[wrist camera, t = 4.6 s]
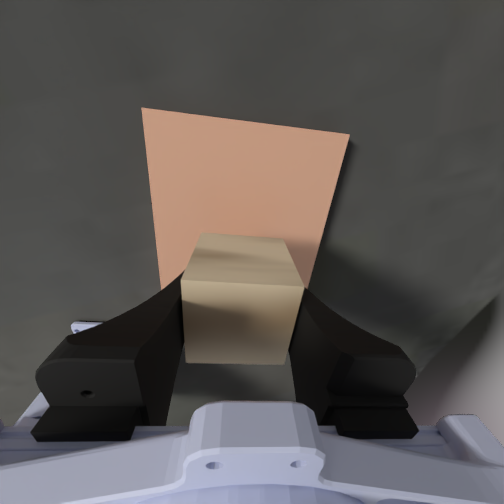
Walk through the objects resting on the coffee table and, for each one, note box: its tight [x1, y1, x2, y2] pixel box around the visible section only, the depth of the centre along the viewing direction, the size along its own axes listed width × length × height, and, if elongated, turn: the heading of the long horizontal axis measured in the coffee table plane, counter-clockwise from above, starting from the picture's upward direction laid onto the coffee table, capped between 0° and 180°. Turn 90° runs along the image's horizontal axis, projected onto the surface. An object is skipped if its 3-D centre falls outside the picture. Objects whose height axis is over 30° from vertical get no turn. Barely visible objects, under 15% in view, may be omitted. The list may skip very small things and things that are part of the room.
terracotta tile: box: [142, 108, 350, 290], centre depth 19 cm, size 18×14×1 cm
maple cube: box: [181, 232, 304, 365], centre depth 12 cm, size 5×5×5 cm
